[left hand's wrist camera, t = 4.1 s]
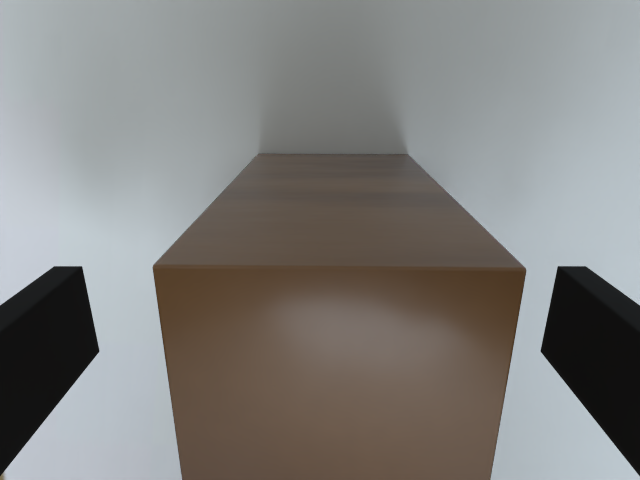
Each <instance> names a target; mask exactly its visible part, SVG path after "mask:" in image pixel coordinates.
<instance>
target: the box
mask: <svg viewBox="0 0 640 480" xmlns="http://www.w3.org/2000/svg"><path fill="white" fill-rule="evenodd" d="M153 273H154V280H155V287H156V295H157V302H158V309H159V316H160V323H161V330H162V338H163V345H164V352H165V359H166V366H167V373H168V380H169V388H170V395H171V402H172V409H173V416H174V423H175V431H176V438H177V445H178V452H179V459H180V466H181V474H182V480H490V478H491V472H492V466H493V461H494V455H495V449H496V443H497V437H498V432H499V426H500V420H501V414H502V409H503V403H504V397H505V391H506V385H507V380H508V374H509V368H510V362H511V356H512V351H513V345H514V339H515V333H516V328H517V322H518V316H519V310H520V304H521V299H522V293H523V287H524V281H525V275H526V268H525V267H524V266H523V265H522V264H521V263H520V262H519V261H518V260H517V259H516V258H515V257H514V256H513V255H512V254H511V253H509V252H508V251H507V250H506V249H505V248H504V247H503V246H502V245H501V244H500V243H499V242H498V241H497V240H496V239H495V238H494V237H493V236H492V235H491V234H490V233H489V232H488V231H487V230H486V229H485V228H484V227H483V226H482V225H481V224H480V223H478V222H477V221H476V220H475V219H474V218H473V217H472V216H471V215H470V214H469V213H468V212H467V211H466V210H465V209H464V208H463V207H462V206H461V205H460V204H459V203H458V202H457V201H456V200H455V199H454V198H453V197H452V196H451V195H450V194H448V193H447V192H446V191H445V190H444V189H443V188H442V187H441V186H440V185H439V184H438V183H437V182H436V181H435V180H434V179H433V178H432V177H431V176H430V175H429V174H428V173H427V172H426V171H425V170H424V169H423V168H422V167H421V166H420V165H418V164H417V163H416V162H415V161H414V160H413V159H412V158H411V157H410V156H409V155H408V154H258V155H257V156H256V157H255V158H254V159H253V160H252V161H251V162H250V163H249V164H248V165H247V166H246V167H245V169H244V170H243V171H242V172H241V173H240V174H239V175H238V176H237V177H236V178H235V179H234V180H233V181H232V182H231V183H230V184H229V185H228V187H227V188H226V189H225V190H224V191H223V192H222V193H221V194H220V195H219V196H218V197H217V198H216V199H215V200H214V201H213V202H212V204H211V205H210V206H209V207H208V208H207V209H206V210H205V211H204V212H203V213H202V214H201V215H200V216H199V217H198V218H197V219H196V220H195V222H194V223H193V224H192V225H191V226H190V227H189V228H188V229H187V230H186V231H185V232H184V233H183V234H182V235H181V236H180V237H179V238H178V240H177V241H176V242H175V243H174V244H173V245H172V246H171V247H170V248H169V249H168V250H167V251H166V252H165V253H164V254H163V255H162V256H161V258H160V259H159V260H158V261H157V262H156V263H155V264H154V265H153Z"/></svg>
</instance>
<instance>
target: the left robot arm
mask: <svg viewBox="0 0 640 480" xmlns="http://www.w3.org/2000/svg"><path fill="white" fill-rule="evenodd" d="M98 353H99V347H98V342H97V337H96V332H95V327H94V323H93V318H92V313H91V308H90V303H89V298H88V293H87V288H86V283H85V278H84V274H83V269H82V266H54V267H53V268H51V269H50V270H49V271H47V272H46V273H45V274H43V275H42V276H40V277H39V278H38V279H36V280H35V281H34V282H32V283H31V284H29V285H28V286H27V287H25V288H24V289H22V290H21V291H20V292H18V293H17V294H16V295H14V296H13V297H11V298H10V299H9V300H7V301H6V302H5V303H3V304H2V305H0V476H1V474H2V473H3V472H4V471H5V469H6V468H7V467H8V466H9V464H10V463H11V462H12V461H13V459H14V458H15V457H16V456H17V454H18V453H19V452H20V451H21V449H22V448H23V447H24V446H25V444H26V443H27V442H28V441H29V439H30V438H31V437H32V435H33V434H34V433H35V432H36V430H37V429H38V428H39V427H40V425H41V424H42V423H43V422H44V420H45V419H46V418H47V417H48V415H49V414H50V413H51V412H52V410H53V409H54V408H55V407H56V405H57V404H58V403H59V402H60V400H61V399H62V398H63V397H64V395H65V394H66V393H67V391H68V390H69V389H70V388H71V386H72V385H73V384H74V383H75V381H76V380H77V379H78V378H79V376H80V375H81V374H82V373H83V371H84V370H85V369H86V368H87V366H88V365H89V364H90V363H91V361H92V360H93V359H94V358H95V356H96V355H97V354H98ZM541 353H542V354H543V355H544V356H545V358H546V359H547V360H548V361H549V363H550V364H551V365H552V366H553V368H554V369H555V370H556V371H557V373H558V374H559V375H560V376H561V378H562V379H563V380H564V381H565V383H566V384H567V385H568V386H569V388H570V389H571V390H572V391H573V393H574V394H575V395H576V397H577V398H578V399H579V400H580V402H581V403H582V404H583V405H584V407H585V408H586V409H587V410H588V412H589V413H590V414H591V415H592V417H593V418H594V419H595V420H596V422H597V423H598V424H599V425H600V427H601V428H602V429H603V430H604V432H605V433H606V434H607V435H608V437H609V438H610V439H611V441H612V442H613V443H614V444H615V446H616V447H617V448H618V449H619V451H620V452H621V453H622V454H623V456H624V457H625V458H626V459H627V461H628V462H629V463H630V464H631V466H632V467H633V468H634V469H635V471H636V472H637V473H638V474H639V476H640V305H638V304H637V303H635V302H634V301H633V300H631V299H630V298H629V297H627V296H626V295H624V294H623V293H622V292H620V291H619V290H617V289H616V288H615V287H613V286H612V285H611V284H609V283H608V282H606V281H605V280H604V279H602V278H601V277H600V276H598V275H597V274H595V273H594V272H593V271H591V270H590V269H589V268H587V267H586V266H558V269H557V274H556V278H555V283H554V288H553V293H552V298H551V303H550V308H549V313H548V318H547V323H546V327H545V332H544V337H543V342H542V347H541Z"/></svg>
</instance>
